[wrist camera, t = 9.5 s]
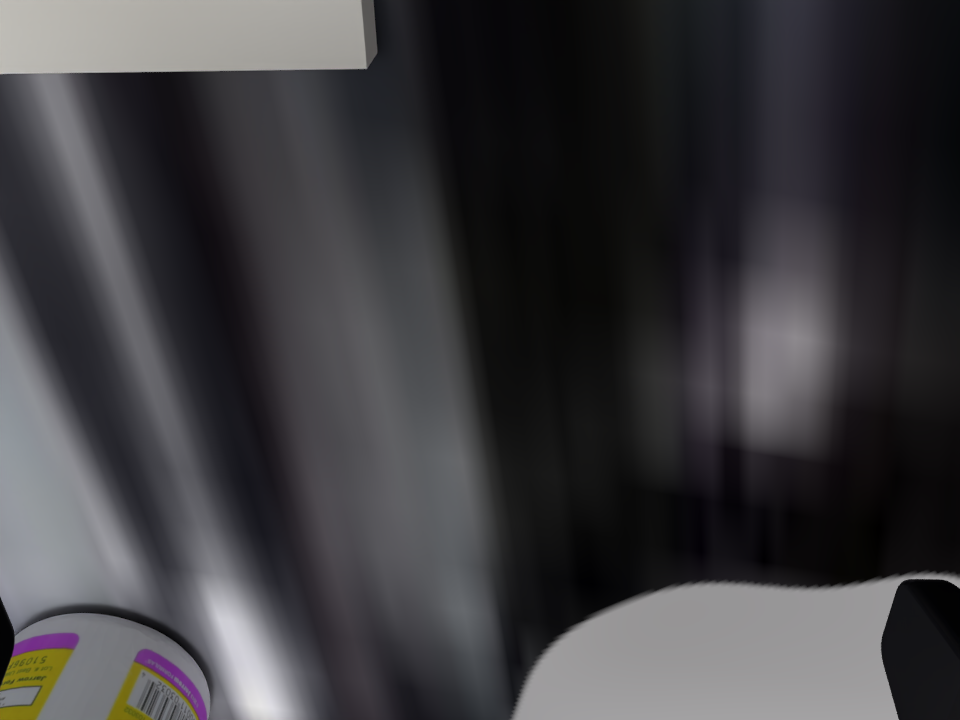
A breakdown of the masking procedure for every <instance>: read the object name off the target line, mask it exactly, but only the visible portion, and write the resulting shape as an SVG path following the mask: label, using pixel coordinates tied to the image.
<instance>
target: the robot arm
mask: <svg viewBox="0 0 960 720" xmlns="http://www.w3.org/2000/svg"><path fill="white" fill-rule="evenodd" d="M14 644H15V636H14V629H13V626H12V624H11V621H10V619H9V617H8V614H7V612H6V610H5V607H4V605H3V602H2V600H1V598H0V687H1V684H2V682H3V679H4V676H5V674H6V671H7V668H8V665H9V663H10V660H11V657H12V654H13V650H14ZM881 652H882V660H883V664H884V668H885V672H886V675H887V679H888V682H889V686H890V689H891V693H892V697H893V700H894V703H895V707H896V711H897V714H898V718H899V720H960V589H959V588H958V587H957V586H955V585H954V584H952V583H950V582H948V581H945V580H930V579H926V580H925V579H909V580H905V581H903V582H902V583H901V584H900V585H899V586H898V589H897V591H896V594H895V597H894V600H893V604H892V607H891V610H890V613H889V616H888V620H887V623H886V626H885V629H884V632H883V636H882V642H881Z"/></svg>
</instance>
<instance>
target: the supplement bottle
mask: <svg viewBox="0 0 960 720" xmlns="http://www.w3.org/2000/svg"><path fill="white" fill-rule="evenodd" d="M209 712H210V693H209V689H208V685H207V682H206V679H205V677H204V675H203V672H202V671H201V669H200V668H199V666H198V665H197V663H196V662H195V661H194V659H193V658H192V657H191V656H190V655H189V654H188V653H187V652H186V651H185V650H184V649H183V648H182V647H181V646H180V645H178V644H177V643H176V642H174V641H173V640H172V639H170V638H168V637H167V636H165V635H164V634H162V633H160V632H158V631H156V630H154V629H152V628H149V627H147V626H144V625H142V624H139V623H136V622H133V621H130V620H127V619H123V618H119V617H115V616H110V615H103V614H93V613H72V614H64V615H59V616H54V617H50V618H47V619H44V620H41V621H38V622H36V623H34V624H32V625H30V626H28V627H27V628H25V629H23V630H22V631H21V632H19V633H18V634H17V635H16V636H15V644H14V650H13V654H12V657H11V660H10V663H9V665H8V668H7V671H6V674H5V676H4V679H3V682H2V684H1V687H0V720H208V717H209Z"/></svg>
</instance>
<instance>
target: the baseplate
mask: <svg viewBox="0 0 960 720" xmlns="http://www.w3.org/2000/svg"><path fill="white" fill-rule="evenodd" d="M376 54H377V40H376V27H375V14H374V1H373V0H0V74H31V73H104V72H176V71H249V70H322V69H367V68H368V66H369V65H370V63H371V62H372V60H373V59H374V57H375V56H376Z"/></svg>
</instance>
